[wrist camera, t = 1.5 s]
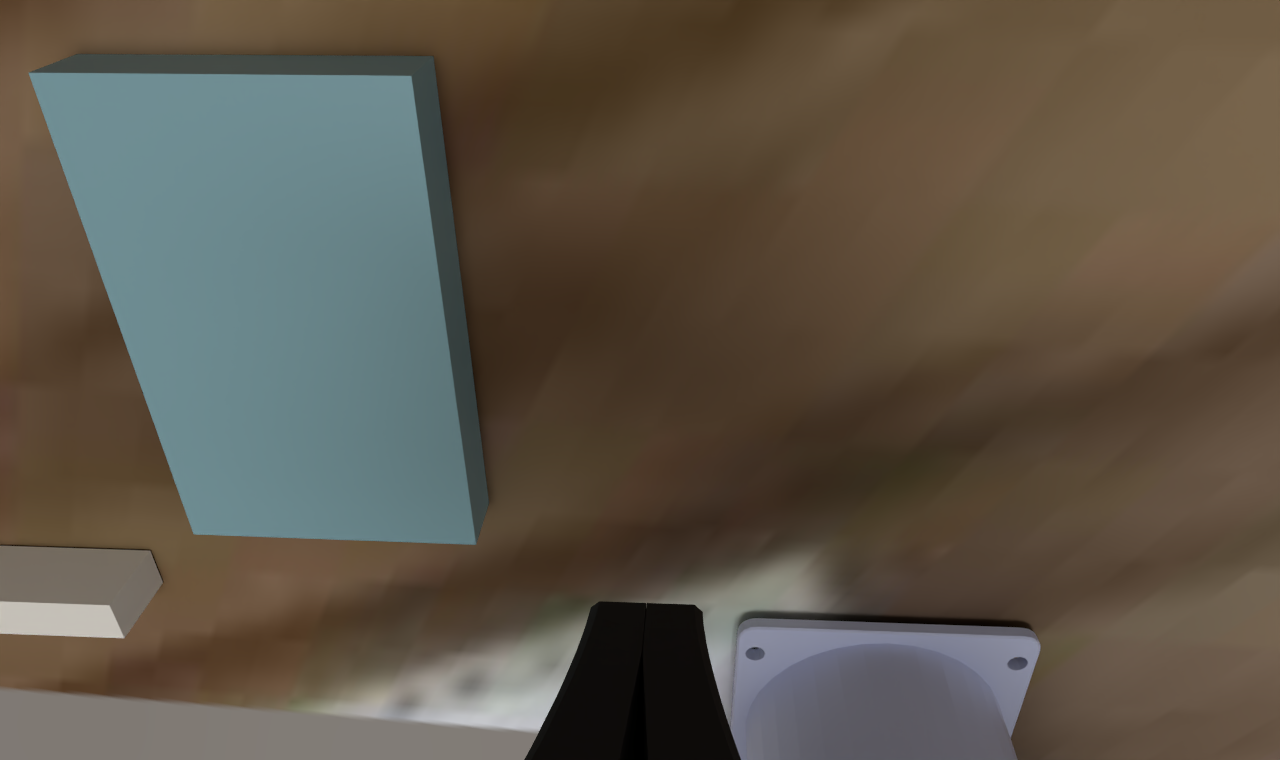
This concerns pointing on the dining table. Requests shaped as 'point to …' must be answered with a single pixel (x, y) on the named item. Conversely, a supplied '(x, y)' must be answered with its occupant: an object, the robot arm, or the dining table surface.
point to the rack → (74, 590)
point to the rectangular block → (283, 284)
